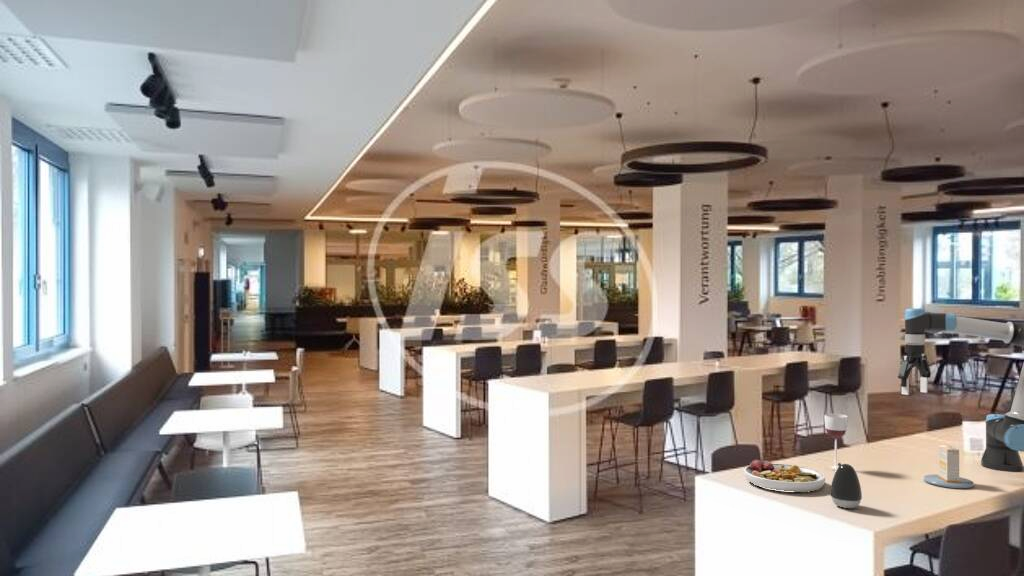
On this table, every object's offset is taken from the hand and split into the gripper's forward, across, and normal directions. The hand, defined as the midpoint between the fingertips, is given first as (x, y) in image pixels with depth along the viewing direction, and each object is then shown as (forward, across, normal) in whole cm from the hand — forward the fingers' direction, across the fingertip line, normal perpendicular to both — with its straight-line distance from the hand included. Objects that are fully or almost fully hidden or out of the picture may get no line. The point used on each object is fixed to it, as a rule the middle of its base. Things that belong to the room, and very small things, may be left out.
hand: (914, 393), depth 311 cm
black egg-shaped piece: (+33, +74, +20) cm, 83 cm away
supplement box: (+31, +10, +20) cm, 39 cm away
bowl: (+33, +69, -11) cm, 77 cm away
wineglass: (+33, +29, -17) cm, 47 cm away
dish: (+33, +10, +20) cm, 40 cm away
